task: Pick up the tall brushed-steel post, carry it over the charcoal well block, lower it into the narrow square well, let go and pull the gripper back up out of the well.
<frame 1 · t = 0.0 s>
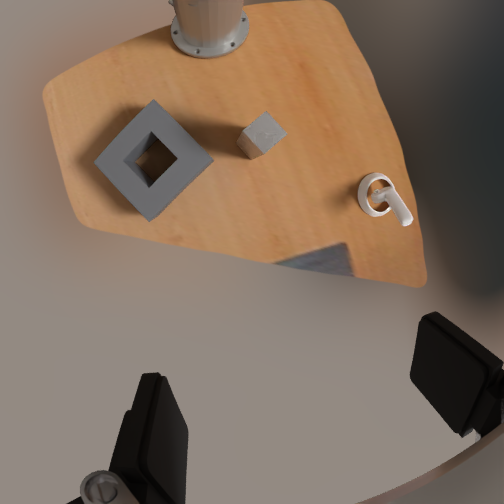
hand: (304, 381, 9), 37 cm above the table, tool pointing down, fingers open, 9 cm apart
well block: (158, 161, 41), on the table
steel post: (252, 144, 42), on the table
hook: (375, 194, 47), on the table
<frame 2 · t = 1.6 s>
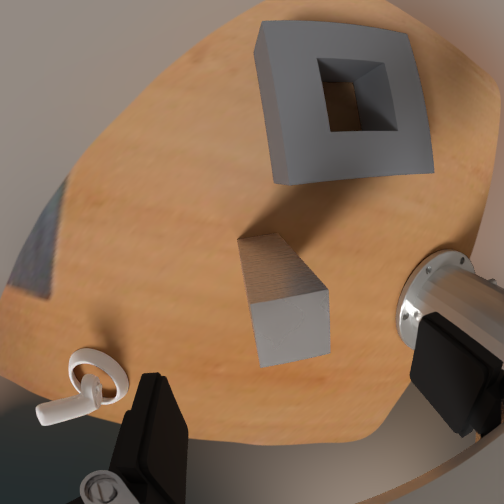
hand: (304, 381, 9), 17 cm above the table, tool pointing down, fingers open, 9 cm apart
well block: (330, 109, 23), on the table
steel post: (260, 255, 25), on the table
hook: (98, 374, 28), on the table
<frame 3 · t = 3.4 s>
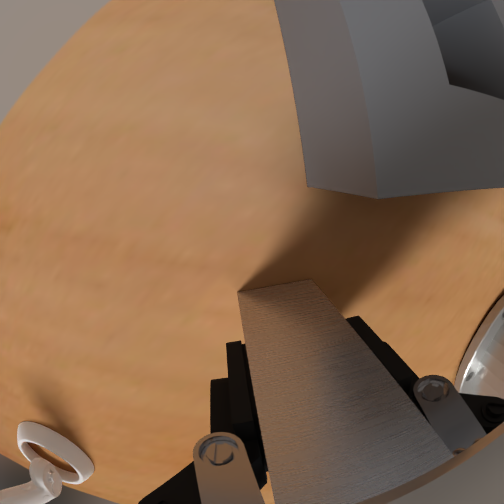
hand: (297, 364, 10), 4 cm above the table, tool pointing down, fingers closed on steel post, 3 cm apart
well block: (397, 65, 11), on the table
steel post: (278, 318, 14), on the table, touching gripper
hook: (55, 449, 16), on the table
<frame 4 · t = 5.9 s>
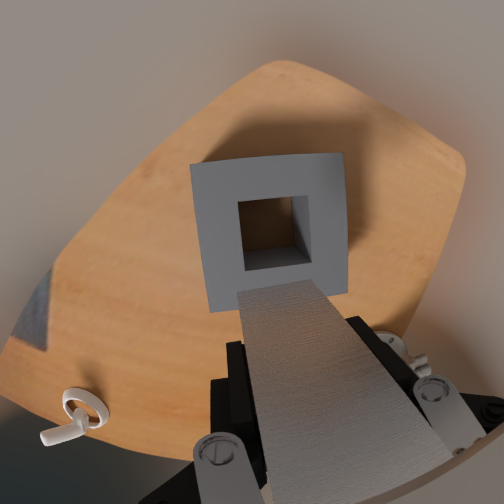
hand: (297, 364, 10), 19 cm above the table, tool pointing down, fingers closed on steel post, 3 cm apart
well block: (265, 221, 28), on the table
steel post: (278, 318, 14), point 16 cm above the table, touching gripper
hook: (85, 405, 33), on the table
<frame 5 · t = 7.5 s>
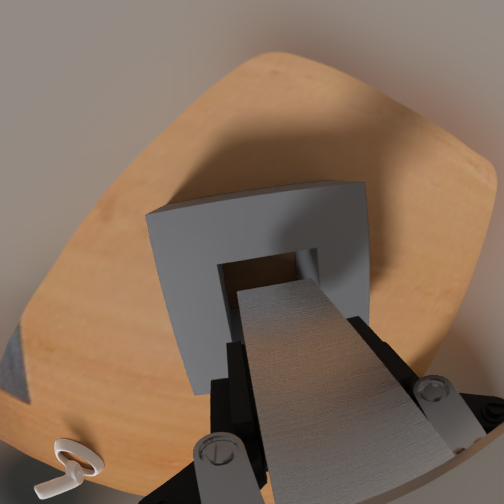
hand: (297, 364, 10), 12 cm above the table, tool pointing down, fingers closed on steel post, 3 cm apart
well block: (260, 269, 22), on the table
steel post: (278, 317, 14), point 8 cm above the table, touching gripper
hook: (79, 454, 27), on the table
when the fingers open (7 cm above the table, at t = 8.7 s): steel post drops 3 cm, resting in well block.
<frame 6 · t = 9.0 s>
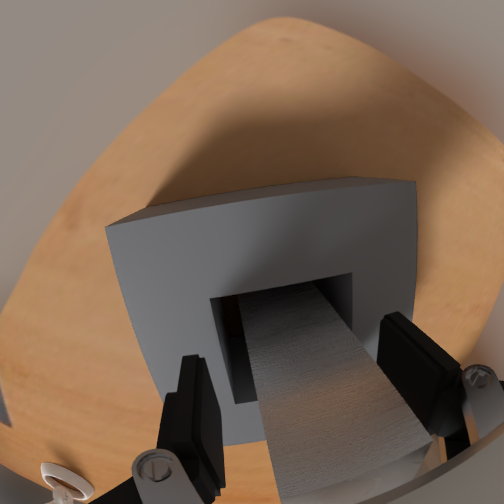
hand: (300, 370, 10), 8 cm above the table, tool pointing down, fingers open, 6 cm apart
well block: (267, 291, 17), on the table
steel post: (268, 292, 17), resting in well block
hook: (67, 478, 22), on the table
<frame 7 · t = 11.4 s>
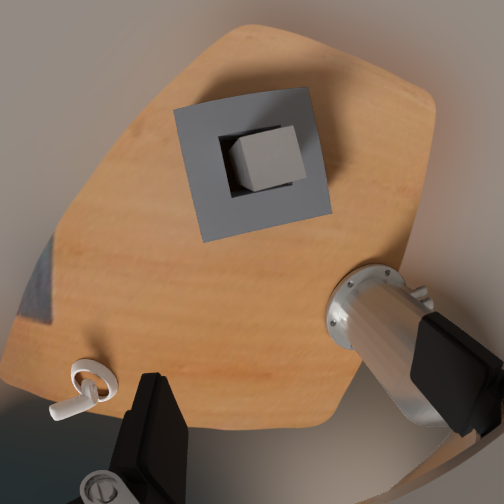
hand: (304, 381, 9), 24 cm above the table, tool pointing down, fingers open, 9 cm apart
well block: (247, 162, 30), on the table
steel post: (248, 163, 30), resting in well block
hook: (94, 378, 35), on the table
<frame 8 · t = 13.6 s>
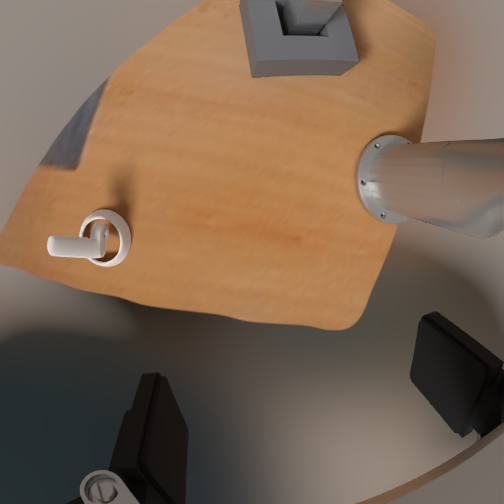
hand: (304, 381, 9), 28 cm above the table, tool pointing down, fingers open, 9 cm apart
well block: (290, 37, 30), on the table
steel post: (290, 38, 30), resting in well block
hook: (105, 237, 35), on the table
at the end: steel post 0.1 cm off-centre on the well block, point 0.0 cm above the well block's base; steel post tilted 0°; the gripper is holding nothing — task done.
